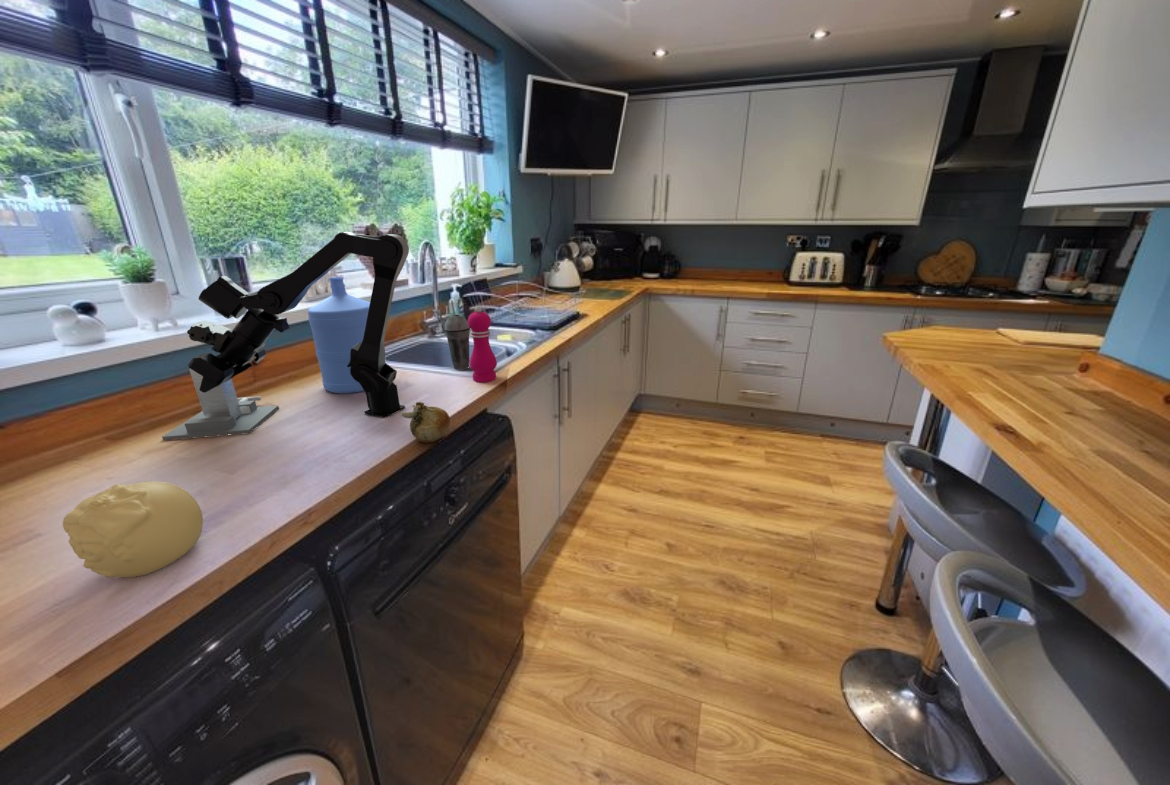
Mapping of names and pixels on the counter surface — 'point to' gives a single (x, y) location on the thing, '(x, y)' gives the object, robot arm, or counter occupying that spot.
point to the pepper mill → (481, 347)
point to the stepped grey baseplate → (224, 421)
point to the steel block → (217, 399)
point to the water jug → (338, 336)
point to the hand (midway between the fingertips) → (208, 387)
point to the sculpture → (134, 528)
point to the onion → (427, 422)
